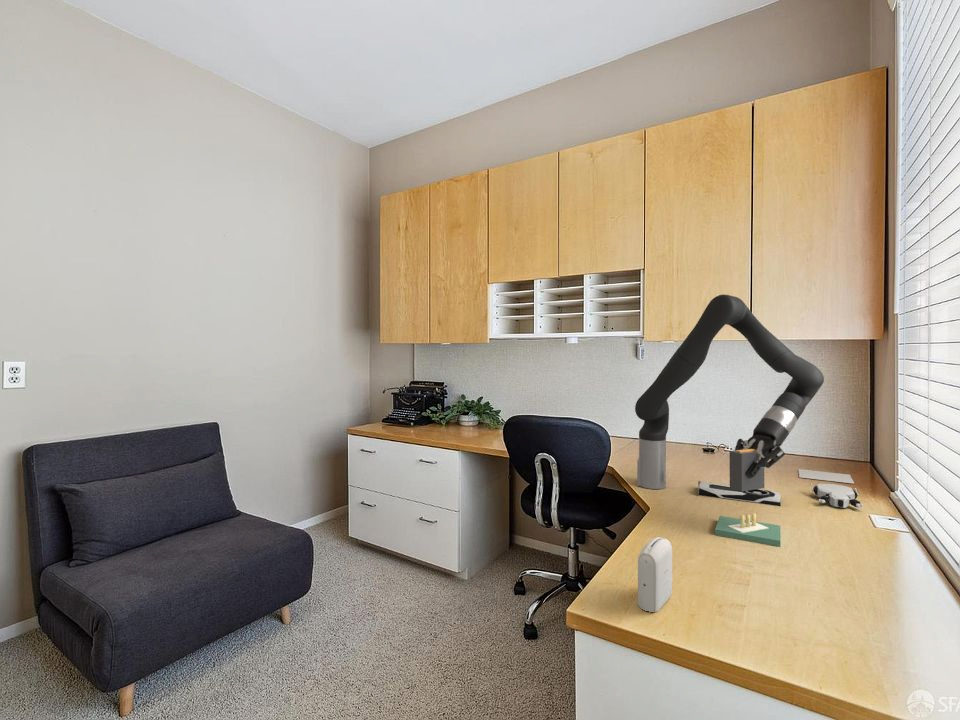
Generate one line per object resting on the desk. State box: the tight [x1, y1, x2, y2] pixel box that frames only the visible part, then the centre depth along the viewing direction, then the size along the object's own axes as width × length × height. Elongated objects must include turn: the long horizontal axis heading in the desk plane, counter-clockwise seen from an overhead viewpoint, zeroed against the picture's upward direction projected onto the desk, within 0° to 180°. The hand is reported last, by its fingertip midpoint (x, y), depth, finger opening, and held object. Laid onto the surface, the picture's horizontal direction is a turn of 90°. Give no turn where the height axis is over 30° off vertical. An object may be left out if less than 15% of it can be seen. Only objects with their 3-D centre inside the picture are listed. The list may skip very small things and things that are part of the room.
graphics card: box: [697, 480, 782, 507], centre depth 162 cm, size 10×3×25 cm
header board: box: [714, 512, 781, 548], centre depth 132 cm, size 15×12×5 cm
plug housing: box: [729, 449, 765, 491], centre depth 131 cm, size 8×4×10 cm, turn 108°
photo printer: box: [637, 536, 673, 613], centre depth 98 cm, size 10×4×12 cm, turn 140°
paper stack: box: [797, 468, 855, 484], centre depth 184 cm, size 23×25×1 cm
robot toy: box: [810, 483, 864, 509], centre depth 156 cm, size 12×4×15 cm
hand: (741, 473), depth 131 cm, fingers closed on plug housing, 4 cm apart
